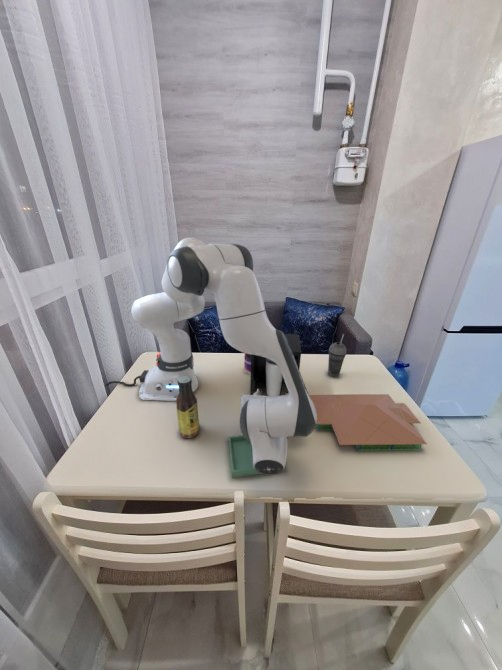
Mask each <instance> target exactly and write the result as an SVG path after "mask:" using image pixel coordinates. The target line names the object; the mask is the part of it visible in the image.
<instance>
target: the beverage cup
mask: <svg viewBox="0 0 502 670" xmlns="http://www.w3.org/2000/svg"><path fill="white" fill-rule="evenodd" d="M344 336H345V333H342V335H341V339H340V342H339V341H336V342H333V343H331V344H330V346H329V348H328V351H327V352H328V362H327V363H328V366H327V376H329V377H330V378H332V379H338V378H339V376H340V374H341V371H342V367H343V364H344V361H345V358H346V355H347V348H346V346H345V344H344V343H342V342H343V339H344Z"/></svg>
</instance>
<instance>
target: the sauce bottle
mask: <svg viewBox="0 0 502 670" xmlns="http://www.w3.org/2000/svg"><path fill="white" fill-rule="evenodd" d="M177 382H178V385H179V394H178V395H177V398H176V401H175V402H176V403H175V404H176V415H177V424H178V430H179V434H180V436H181V437H182V438H184V439H192V438H194V437H196V436H197V435H198V433H199V431H200V419H199V407H198V399H197V397H196V394H195V393H194V392H193V391H192V385H191V383H192V379H191V377H190V376H181V377H179V378H178V380H177Z"/></svg>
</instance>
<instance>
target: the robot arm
mask: <svg viewBox="0 0 502 670" xmlns="http://www.w3.org/2000/svg"><path fill="white" fill-rule="evenodd" d="M259 284H260V283H259V282H258V280H257V277H256V275H255V272H254V260H253V256H252V253H251V252H250V250H249V249H248V248H247V247H246V246H245V245H241V244H238V243H208V244H206V243H204V242H203V241H202V240H200V239H198V238H195V237H185V238H182V239H181V240H180V241H179V242H178V243H177V244H176V246H175V247H174V248H173V250H172V251H171V252H170V254H169V256H168V259H167V263H166V265H165V269H164V272H163V275H162V278H161V288H162V291H163V292H158V293H152V294H147V295H145V296H142V297H140V298H138V299H135V300H134V301H133V303H132V305H131V309H130V310H131V311H130V312H131V316H132V319H133V321H134V323H135V324H136V326H139V327H140V328H142V329H144V330H147V331H148V332H150V333H151V334H152V335H153V336H154V337H155V338H156V341H157V344H158V346H159V351H160V352H157V353H156V360H155V365H154V366H152V367H151V368H149V369H144V370H143V372H142V373H141V374H140V375H138V376H136V377H135V378H134V379H133V383H126V382H124V381H118V380H113V381H109V382H107V383H106V384H105V386H106V387H108V386H109V385H112V384H119V385H120V384H121V385H123V386H126V387H133V386H135V385H136V384H137V380H139V383H141V385H140V387H139V391H138V396H139V399H140V400H142V401H164V402H165V401H166V402H176V398H177V395H178V394H179V385H178V382H177V380H178V378H179V377H181V376H190V377H191V379H192V383H191V385H192V391H193V393H194V392H195V391H196V390H197V389H198V387H199V381H198V379H197V376H196V372H195V370H194V365H195V361H194V356H193V355H194V354H193V352H192V347H191V337H190V335H189V334H188V333H187V332H186V331H185V330H183V329H180V328H176V327H175V323H178V322H181V321H185V320H190V319H193V318H195V317H196V316H198V315H200V314H203V312H204V310H205V307H206V299H205V296H204V295H203V294H204V292H207V293H209V294H210V295H212V297H213V298H214V302H215V305H216V306H215V307H216V312H217V316H218V322H219V326H220V329H221V330H220V331H221V333H222V336H223V338H224V340H225V342H226V343H227V344H228V345H229V346H230V347H232V348H233V349H235V350H236V351H239V352H241V353H243V354H245V353H247V354H252V355H257V356H261V357H265V358H268V359H270V360H272V361H273V362H275V363H276V364H277V365H278V366H279V368H280V370H281V373H282V375H283V378H284V381H285V382H284V383H285V385H286V389H287V390H285V393H284V394H282V395H279V396H273V397H272V396H268V395H262V388H257V389H256V391H254V394H253V395H250V394H248V393H247V394H245V393H244V394H242V395H241V397H240V415H239V427H240V432H241V435H243V436H244V438H245V439H246V440H247V441H248V443H249V444H251V445H252V455H253V467H254V469H255V470H256V471H257V472H259V473H261V474H262V475H265V476H275V475H279V474H281V473H282V472H284V471H285V468H286V463H287V457H288V456H287V455H288V438H287V437H294V438H295V437H296V438H298V437H299V438H300V437H301V438H307V437H308V436H310V435H311V434H312V433H313V432H314V430H316V428H317V427H318V425H317V412H316V409H315V406H314V404H313V402H312V400H311V398H310V396H309V395H310V394H309V392H308V390H307V387H306V384H305V382H304V379H303V376H302V373H301V371H300V368H298V365H297V363H296V360H295V357H294V355H293V352H292V350H291V347H290V345H289V342H288V340H287V338H286V336H285V335H284V334H285V333H284V332H283V331H282V330H280V329H276V328H275V327H274V325H273V324H272V323H271V321H270V319H269V317H268V315H267V311H266V306H265V301H264V297H263V293H262V291H261V287H260V285H259ZM283 470H284V471H283ZM261 474H260V475H261Z"/></svg>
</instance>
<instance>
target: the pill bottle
mask: <svg viewBox="0 0 502 670" xmlns="http://www.w3.org/2000/svg"><path fill="white" fill-rule="evenodd" d="M243 366H244V367H243V368H244V372H245V373H246V374H248V375H251V354H247V353H244V362H243Z"/></svg>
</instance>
